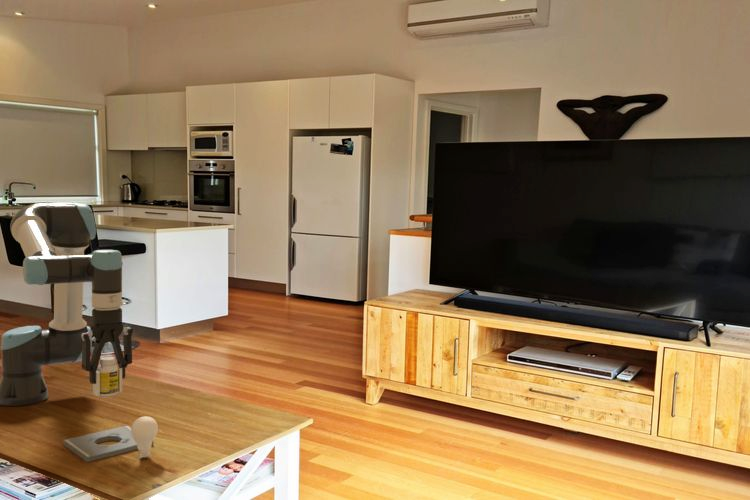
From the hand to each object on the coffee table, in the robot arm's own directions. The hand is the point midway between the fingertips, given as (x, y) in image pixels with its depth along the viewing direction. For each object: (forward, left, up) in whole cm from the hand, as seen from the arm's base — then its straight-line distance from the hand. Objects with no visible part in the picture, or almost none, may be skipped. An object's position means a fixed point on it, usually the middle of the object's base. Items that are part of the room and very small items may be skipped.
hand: (107, 392), depth 184 cm
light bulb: (+15, +3, -15) cm, 21 cm away
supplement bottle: (0, 0, -1) cm, 1 cm away
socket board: (0, 0, -15) cm, 15 cm away
